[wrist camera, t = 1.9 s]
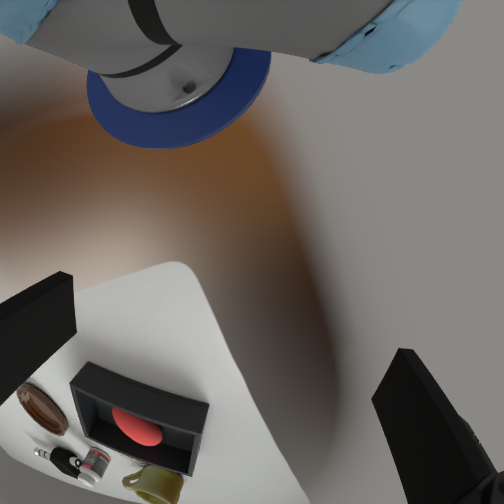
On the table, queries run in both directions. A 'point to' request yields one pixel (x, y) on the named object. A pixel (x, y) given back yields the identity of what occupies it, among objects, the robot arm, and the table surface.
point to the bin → (143, 406)
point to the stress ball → (137, 428)
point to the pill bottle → (93, 467)
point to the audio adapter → (62, 460)
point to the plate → (42, 409)
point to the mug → (155, 485)
